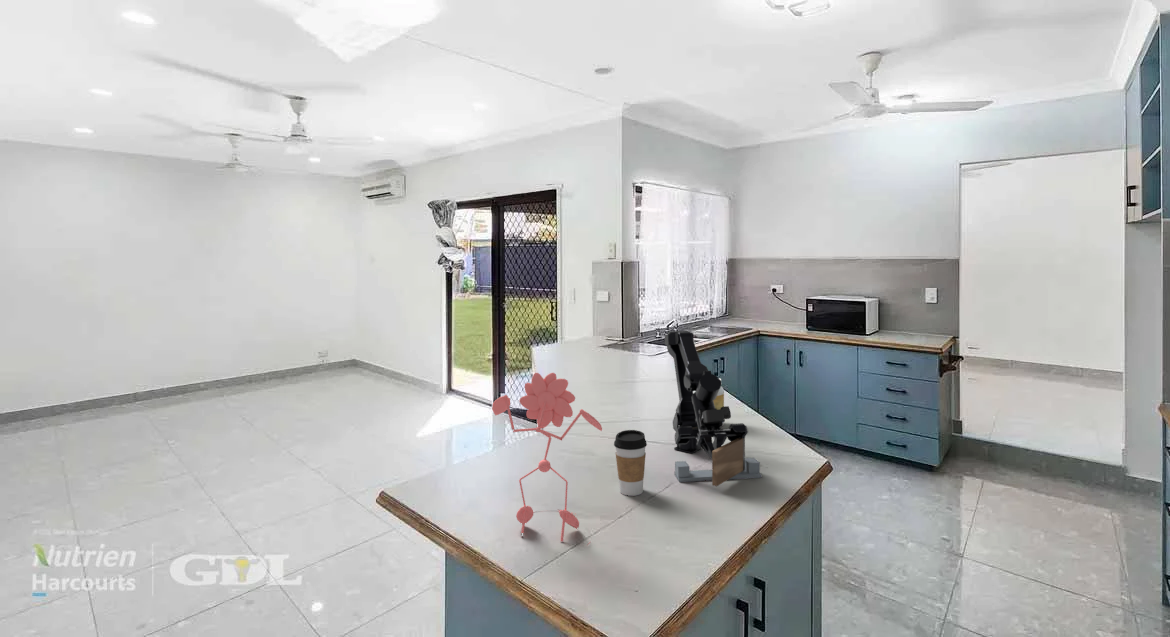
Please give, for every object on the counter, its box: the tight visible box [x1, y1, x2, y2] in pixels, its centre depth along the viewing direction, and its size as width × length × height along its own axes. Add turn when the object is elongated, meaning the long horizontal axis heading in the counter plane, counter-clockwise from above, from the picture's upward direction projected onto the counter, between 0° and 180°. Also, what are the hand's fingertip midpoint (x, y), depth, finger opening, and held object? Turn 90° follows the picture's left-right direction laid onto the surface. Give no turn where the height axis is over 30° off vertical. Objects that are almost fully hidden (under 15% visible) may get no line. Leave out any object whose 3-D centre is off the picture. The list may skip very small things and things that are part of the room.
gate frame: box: [674, 457, 762, 483], centre depth 148 cm, size 5×23×4 cm, turn 94°
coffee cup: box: [613, 429, 648, 497], centre depth 139 cm, size 8×8×15 cm
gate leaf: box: [711, 437, 746, 487], centre depth 143 cm, size 2×15×9 cm, turn 136°
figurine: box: [491, 372, 603, 546], centre depth 121 cm, size 15×26×35 cm, turn 74°
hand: (717, 463), depth 141 cm, fingers closed
